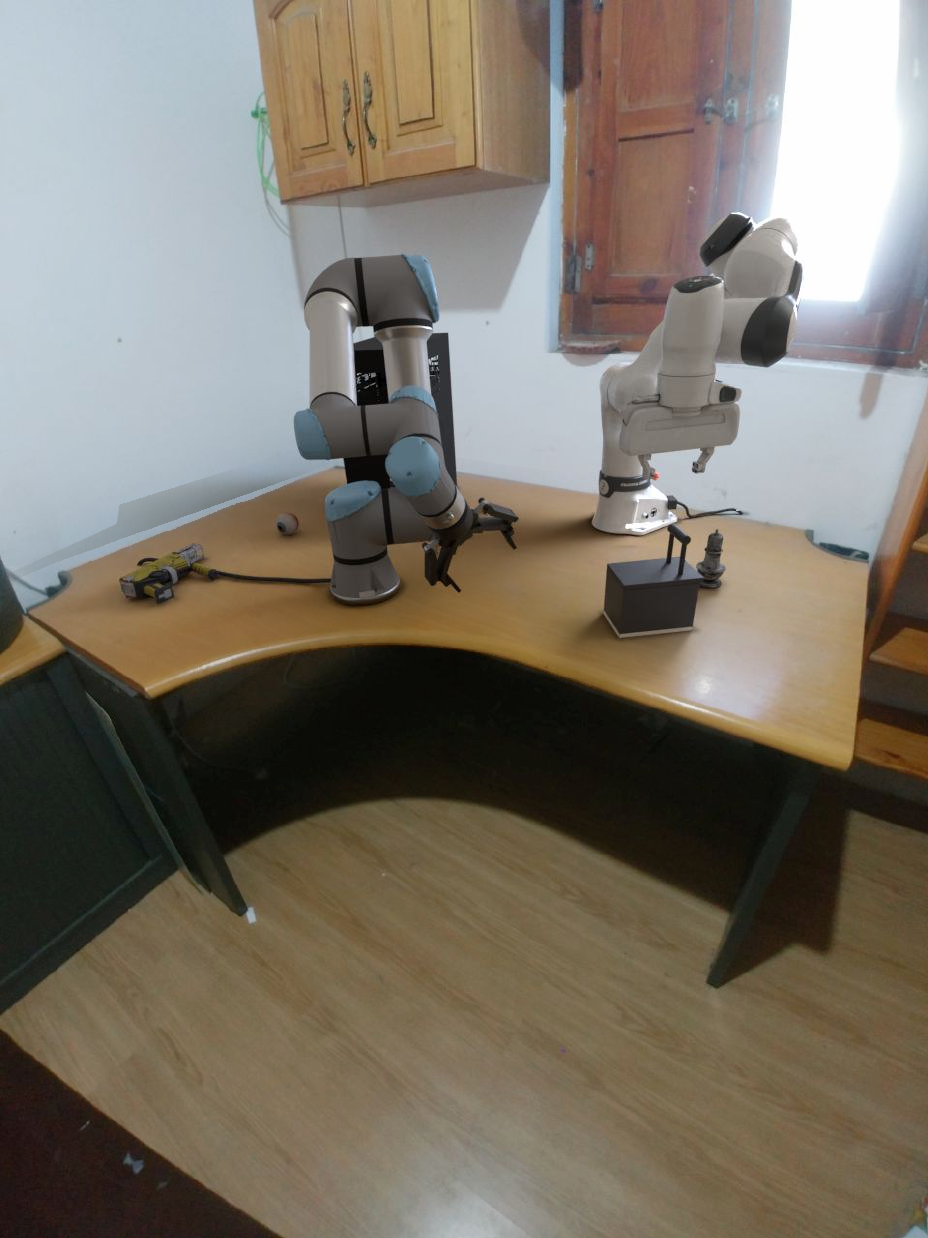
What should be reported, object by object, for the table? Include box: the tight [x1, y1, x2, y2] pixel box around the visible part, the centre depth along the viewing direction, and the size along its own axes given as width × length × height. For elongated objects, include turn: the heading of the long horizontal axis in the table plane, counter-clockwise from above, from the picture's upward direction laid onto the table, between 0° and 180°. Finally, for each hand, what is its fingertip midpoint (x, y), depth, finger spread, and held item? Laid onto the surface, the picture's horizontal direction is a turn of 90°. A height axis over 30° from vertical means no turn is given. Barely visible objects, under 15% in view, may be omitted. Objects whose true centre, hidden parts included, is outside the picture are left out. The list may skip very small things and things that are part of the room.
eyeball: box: [275, 511, 300, 536], centre depth 163 cm, size 6×6×6 cm
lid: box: [606, 523, 704, 590], centre depth 109 cm, size 15×9×9 cm, turn 97°
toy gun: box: [118, 542, 219, 605], centre depth 141 cm, size 5×24×15 cm
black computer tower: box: [342, 332, 458, 489], centre depth 169 cm, size 38×20×45 cm, turn 167°
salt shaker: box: [695, 528, 727, 589], centre depth 125 cm, size 6×6×12 cm
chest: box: [602, 568, 701, 639], centre depth 113 cm, size 14×9×10 cm
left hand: (484, 566), depth 118 cm, fingers open, 13 cm apart
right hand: (673, 475), depth 105 cm, fingers open, 8 cm apart
